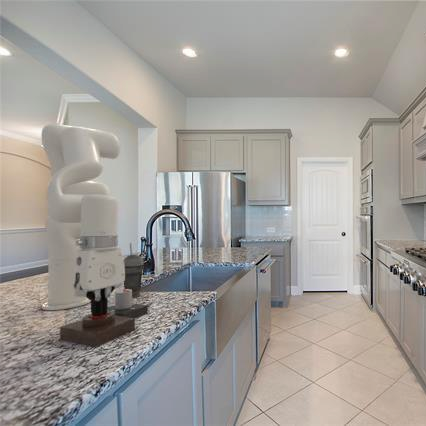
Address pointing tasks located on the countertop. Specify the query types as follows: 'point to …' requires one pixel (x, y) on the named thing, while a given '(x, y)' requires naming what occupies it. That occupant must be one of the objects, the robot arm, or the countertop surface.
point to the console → (130, 310)
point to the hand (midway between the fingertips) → (99, 314)
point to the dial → (123, 299)
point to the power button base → (97, 329)
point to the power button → (98, 316)
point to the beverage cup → (133, 273)
